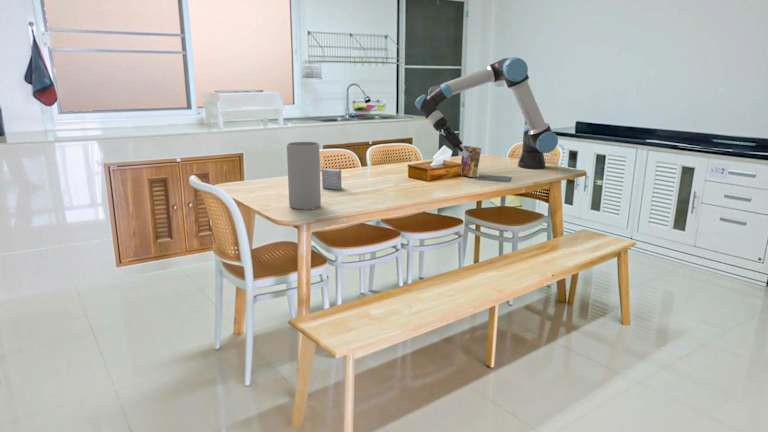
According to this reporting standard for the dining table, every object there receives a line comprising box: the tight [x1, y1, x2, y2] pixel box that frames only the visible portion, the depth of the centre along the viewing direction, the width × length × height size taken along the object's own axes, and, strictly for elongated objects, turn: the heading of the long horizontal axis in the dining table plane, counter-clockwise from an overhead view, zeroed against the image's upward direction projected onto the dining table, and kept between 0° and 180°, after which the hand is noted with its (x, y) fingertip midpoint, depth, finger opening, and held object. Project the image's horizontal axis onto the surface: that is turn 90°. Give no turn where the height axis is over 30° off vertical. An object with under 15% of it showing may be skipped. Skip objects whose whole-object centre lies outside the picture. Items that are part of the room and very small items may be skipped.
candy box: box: [460, 145, 482, 178], centre depth 268 cm, size 9×4×15 cm, turn 39°
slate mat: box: [476, 174, 512, 183], centre depth 266 cm, size 16×12×1 cm
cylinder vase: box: [286, 141, 322, 210], centre depth 206 cm, size 12×12×25 cm
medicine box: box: [321, 168, 342, 190], centre depth 240 cm, size 8×4×9 cm, turn 71°
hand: (467, 155), depth 266 cm, fingers closed
